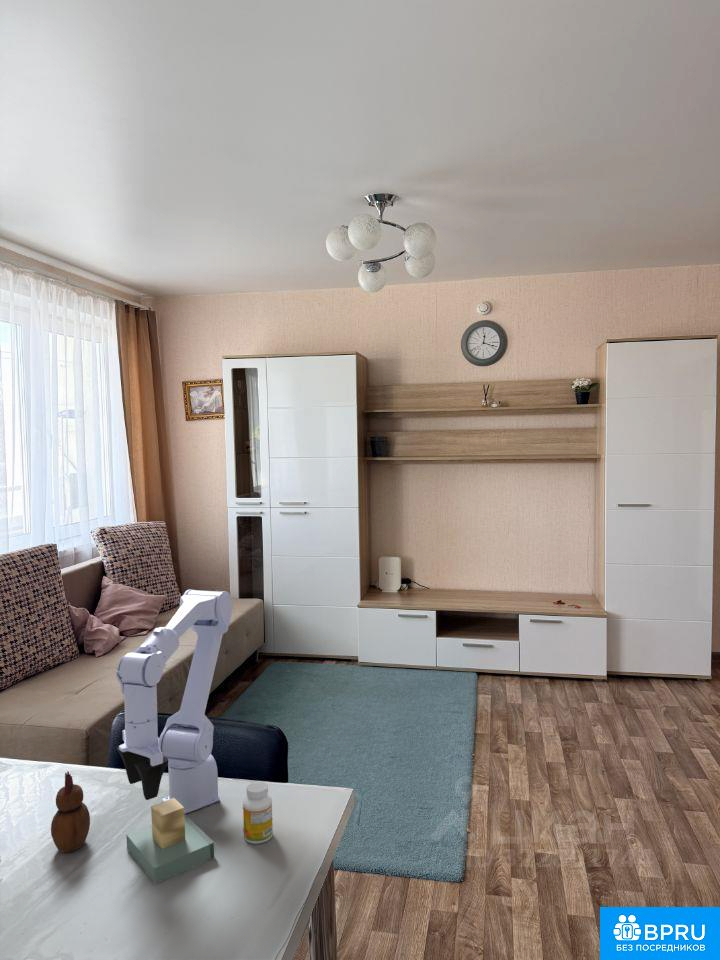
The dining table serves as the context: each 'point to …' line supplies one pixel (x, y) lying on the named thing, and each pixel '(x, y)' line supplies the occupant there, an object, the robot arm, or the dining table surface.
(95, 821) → the dining table surface
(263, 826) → the supplement bottle
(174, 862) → the green flat slab
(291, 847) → the dining table surface
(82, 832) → the wooden figurine
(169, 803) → the block
